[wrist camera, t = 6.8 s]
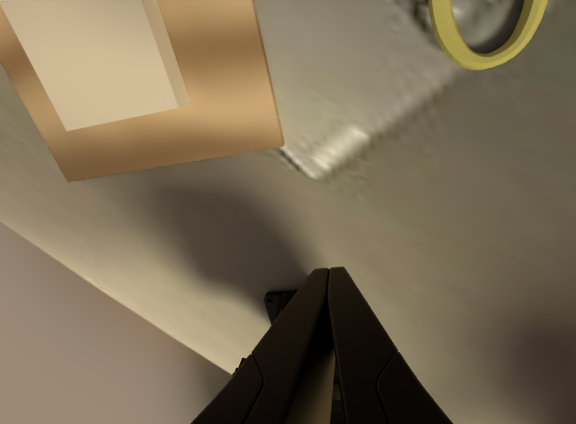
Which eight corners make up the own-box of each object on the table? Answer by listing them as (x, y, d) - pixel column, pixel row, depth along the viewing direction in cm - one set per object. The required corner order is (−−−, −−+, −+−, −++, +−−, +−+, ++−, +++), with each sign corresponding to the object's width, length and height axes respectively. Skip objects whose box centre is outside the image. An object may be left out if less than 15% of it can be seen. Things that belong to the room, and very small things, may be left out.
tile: (178, 107, 17) (66, 131, 19) (191, 102, 19) (85, 124, 20) (122, -52, 14) (-6, -8, 16) (142, -43, 15) (22, -4, 17)
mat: (284, 143, 20) (283, 146, 19) (73, 178, 23) (67, 182, 22) (216, -175, 13) (211, -183, 13) (-59, -62, 17) (-71, -65, 16)
